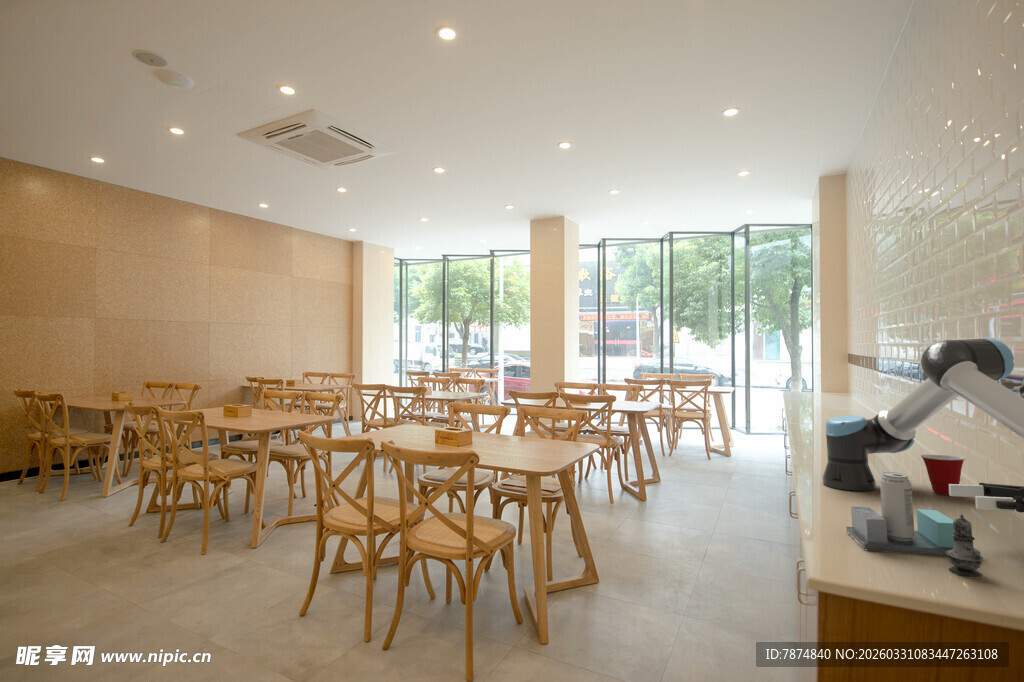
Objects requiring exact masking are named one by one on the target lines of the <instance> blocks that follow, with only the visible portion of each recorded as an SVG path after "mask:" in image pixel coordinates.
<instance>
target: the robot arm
mask: <svg viewBox="0 0 1024 682" xmlns="http://www.w3.org/2000/svg"><path fill="white" fill-rule="evenodd" d="M1014 361H1015V357H1014V354H1013V352H1012V350H1011V349H1010V348H1009V347H1008V346H1007V345H1006V343H1004V342H1002V341H999V340H997V339H993V338H991V339H990V338H986V337H985V338H971V339H970V338H969V339H944V340H940V341H936V342H934V343H933V344H931V345H930V346H928V347H927V348H926V349H925V350H924V351H923V353H922V355H921V359H920V366H921V369H922V371H923V373H924V374H925V376H926V377H927V378H926V379H925V380H923V382H922V383H920V385H918V386H917V387H916V388H915V389H913V390H912V391H911V392H910V393H909V394H908V395H907V396H905V397H904V398H903V399H902V400H901V401H899V403H897V404H896V405H895V406H894V407H892V408H891V409H883V410H881V411H880V412H879V413H878V414H876V415H875V416H874V417H873V418H869V419H866V418H865V417H864V416H861V415H840V416H834V417H831V418H829V419H828V420H827V421H826V423H825V436H826V438H825V439H826V451H827V452H826V453H827V454H826V455H827V463H826V465H825V469H824V471H823V475H822V484H823V485H824V484H825V485H824V486H826V485H827V487H829V488H833V489H837V488H838V490H843V489H844V491H851V490H853V491H855V492H869V491H870V492H871V491H874V490H876V489H877V481H876V478H875V477H874V474H873V473H872V469H871V467H870V465H869V454H870V455H871V454H887V453H888V454H895V453H901V452H905V451H907V450H908V449H910V448H911V447H912V446H913V445H914V443H915V440H914V439H915V438H916V433H917V431H916V429H918V428H919V427H920V426H921V425H922V424H924V423H925V422H926V421H928V420H929V419H930V418H932V417H934V415H936V414H937V413H938V412H940V411H941V410H942V409H943V408H945V407H946V406H947V405H949V404H950V403H952V402H953V401H954V400H955V399H957V398H958V397H959V396H960V397H962V398H963V399H964V400H966V401H967V402H968V403H970V404H972V405H973V406H974V407H976V408H978V410H980V411H982V412H983V413H985V414H986V415H988V416H990V417H991V418H992V419H994V420H995V421H996V422H998V423H1000V424H1002V425H1003V426H1004V427H1006V428H1007V429H1009V430H1010V431H1012V432H1013V433H1014V434H1016V435H1018V436H1019V437H1021V438H1022V439H1024V397H1022V396H1021V395H1020V394H1018V393H1016V392H1015V391H1013V390H1011V389H1009V388H1008V387H1007V386H1005V385H1003V384H1001V383H1000V382H998V381H999V380H1002V379H1005V378H1007V377H1008V376H1009V375H1011V374H1012V372H1013V370H1014V367H1015V362H1014ZM853 491H852V492H853ZM948 496H950V497H963V498H964V497H966V498H974V499H975V509H976V510H981V511H984V510H985V511H1007V512H1015V510H1016V512H1018V513H1024V485H1011V484H1001V483H1000V484H999V483H998V484H997V483H985V482H979V483H978V484H960V483H959V484H949V495H948Z"/></svg>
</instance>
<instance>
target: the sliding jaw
mask: <svg viewBox="0 0 1024 682" xmlns="http://www.w3.org/2000/svg"><path fill="white" fill-rule="evenodd" d="M954 520H955V519H952V518H950V517H948V516H947V515H944V513H941V512H940V511H938V510H935V509H934V510H933V509H919V508H918V509H916V521H917V522H916V523H917V531H918V532H919V533H920V534H922V535H923V536H924V537H926V538H927V539H929V540H930V541H932V542H933V543H934V544H936V545H937V546H939V547H946V548H954V537H953V536H952V534H954V528H953V521H954Z"/></svg>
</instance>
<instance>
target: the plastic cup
mask: <svg viewBox="0 0 1024 682" xmlns="http://www.w3.org/2000/svg"><path fill="white" fill-rule="evenodd" d="M920 457H921V458H922V460H923V462H924V465H925V468H926V472H927V476H928V479H929V482H930V485H931V489H932V491H934V492H935V493H934V492H933V493H934V494H937V493H939V494H938V495H941V494H947V495H946V496H950V495H949V484H960V480H961V474H962V468H963V464H964V462H965V461H964V460H966V457H963V456H957V455H948V454H947V455H946V454H945V455H944V454H921V455H920Z"/></svg>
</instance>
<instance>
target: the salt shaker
mask: <svg viewBox="0 0 1024 682" xmlns="http://www.w3.org/2000/svg"><path fill="white" fill-rule="evenodd" d="M953 520H954V521H953V528H954V534H952V536H953V537H954V548H953V549H952V550H948V551H946V554H947V555H948V556H947V558H948V560H949V562H950V563H951V564H952V565H954V566H950V567H949V568H948V571H949V572H950V573H952V574H954V575H956V576H960V577H963V578H968V579H981V578H982V579H983V577H984V575H983V573H981V572H980V571H978V569H979V568H980V567H981V566H982V564H983V561H984V560H985V559H984V557H983V556H982V555H981V554H980V555H978V554H976V553H975V551H974V548H975V547H974V540H975V539H976V538H975V537H974V536H973V531H972V530H973V529H972V528H973V527H972V523H971V521H970V520H968V519H966V518H964V515H963V514H962V513H961V514H960V515H959V517H958V518H955V519H953ZM973 547H974V548H973Z"/></svg>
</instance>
